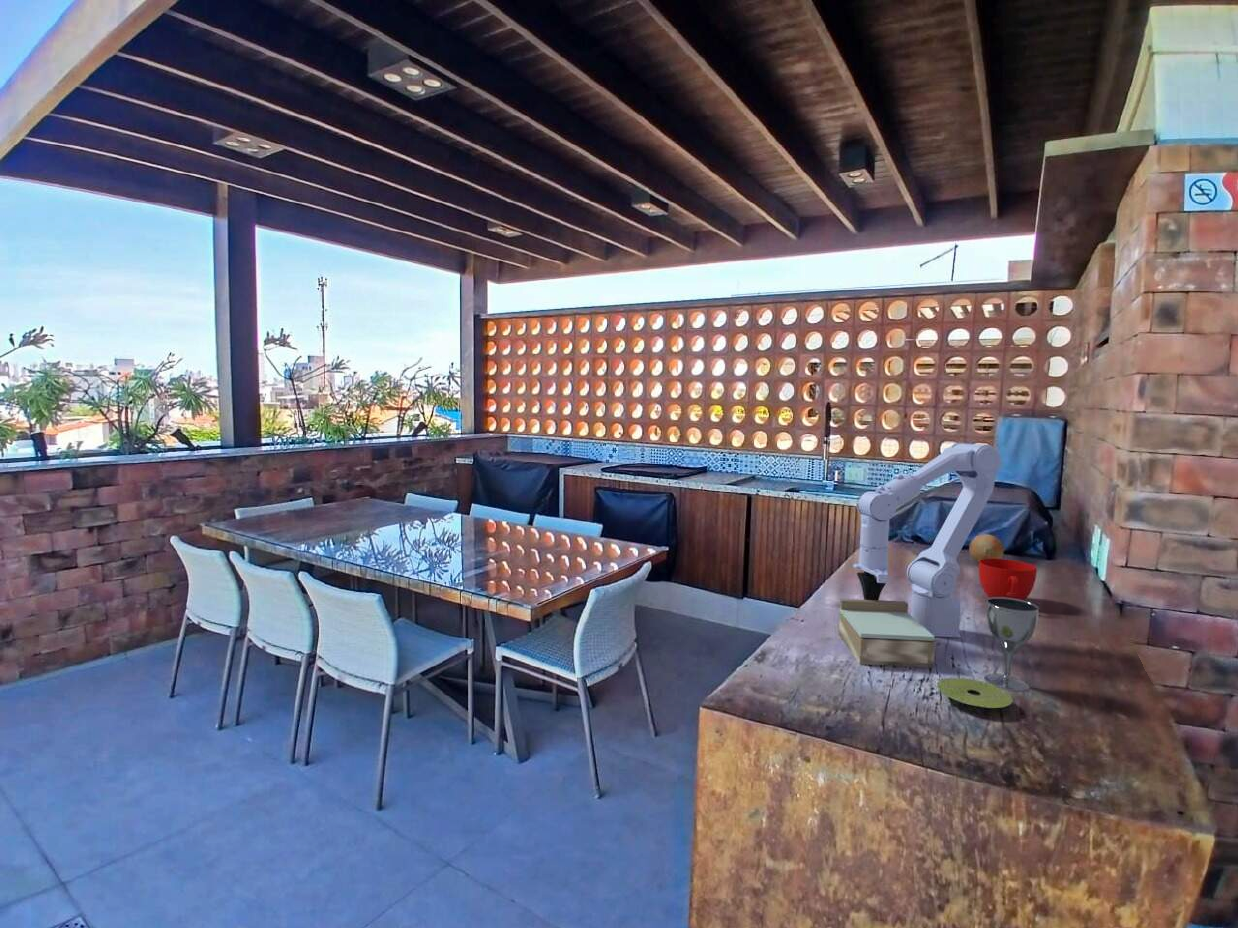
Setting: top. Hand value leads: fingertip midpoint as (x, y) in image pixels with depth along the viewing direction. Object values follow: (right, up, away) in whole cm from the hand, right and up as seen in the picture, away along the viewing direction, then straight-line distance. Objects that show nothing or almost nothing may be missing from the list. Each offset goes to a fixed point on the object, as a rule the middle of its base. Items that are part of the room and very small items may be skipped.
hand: (870, 605), depth 137 cm
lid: (-1, -2, -9) cm, 9 cm away
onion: (+65, -2, +65) cm, 92 cm away
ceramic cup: (+45, -5, +24) cm, 52 cm away
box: (-1, -7, -9) cm, 11 cm away
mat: (+5, -10, -31) cm, 33 cm away
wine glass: (+16, -9, -23) cm, 30 cm away
